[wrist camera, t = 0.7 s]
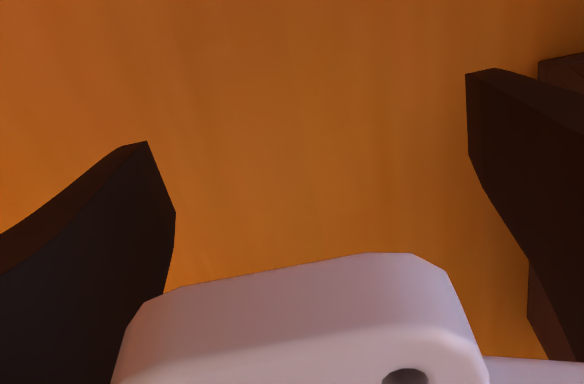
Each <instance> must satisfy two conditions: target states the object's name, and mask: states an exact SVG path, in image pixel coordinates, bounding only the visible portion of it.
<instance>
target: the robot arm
mask: <svg viewBox="0 0 584 384" xmlns="http://www.w3.org/2000/svg"><path fill="white" fill-rule="evenodd" d="M465 85H466V108H467V132H468V155H469V157H470V160H471V162H472V165H473V167H474V169H475V172H476V174H477V176H478V179H479V181H480V183H481V185H482V188H483V189H484V191H485V193H486V194H487V196H488V198H489V199H490V201H491V202H492V204H493V206H494V207H495V209H496V210H497V212H498V213H499V215H500V217H501V218H502V220H503V221H504V223H505V224H506V226H507V227H508V229H509V230H510V232H511V234H512V235H513V237H514V238H515V240H516V241H517V243H518V244H519V246H520V248H521V249H522V251H523V252H524V254H525V255H526V257H527V259H528V260H529V262H530V264H531V266H532V267H533V269H534V271H535V273H536V274H537V276H538V278H539V280H540V283H541V285H542V287H543V289H544V291H545V293H546V295H547V297H548V299H549V301H550V303H551V306H552V308H553V310H554V312H555V314H556V316H557V319H558V321H559V323H560V325H561V327H562V330H563V332H564V334H565V336H566V339H567V341H568V343H569V345H570V348H571V350H572V352H573V354H574V357H575V359H576V362H568V361H554V360H540V359H526V358H512V357H498V356H483V355H481V352H480V350H479V347H478V345H477V342H476V340H475V337H474V335H473V332H472V330H471V327H470V325H469V322H468V320H467V317H466V315H465V313H464V310H463V308H462V305H461V303H460V300H459V298H458V296H457V294H456V292H455V289H454V287H453V285H452V283H451V281H450V279H449V277H448V275H447V273H446V271H445V270H443V269H441V268H439V267H437V266H435V265H433V264H431V263H429V262H428V261H426V260H424V259H422V258H420V257H418V256H416V255H414V254H412V253H376V252H366V253H360V254H355V255H349V256H344V257H339V258H333V259H328V260H322V261H317V262H312V263H306V264H301V265H295V266H290V267H285V268H279V269H274V270H268V271H263V272H258V273H252V274H247V275H241V276H236V277H231V278H225V279H220V280H215V281H209V282H204V283H198V284H193V285H188V286H182V287H179V288H177V289H174V290H172V291H170V292H167V293H165V294H163V291H164V287H165V283H166V279H167V275H168V270H169V266H170V262H171V257H172V253H173V248H174V237H175V221H176V212H175V209H174V207H173V204H172V202H171V199H170V197H169V194H168V192H167V189H166V187H165V184H164V182H163V179H162V177H161V175H160V172H159V170H158V167H157V165H156V162H155V160H154V157H153V155H152V152H151V150H150V147H149V145H148V142H147V141H143V142H138V143H134V144H129V145H124V146H121V147H119V148H117V149H115V150H114V151H112V152H111V153H109V154H108V155H107V156H105V157H104V158H103V159H101V160H100V161H99V162H97V163H96V164H95V165H94V166H93V167H91V168H90V169H89V170H88V171H86V172H85V173H84V174H83V175H81V176H80V177H79V178H78V179H76V180H75V181H74V182H73V183H72V184H70V185H69V186H68V187H67V188H65V189H64V190H63V191H61V192H60V193H59V194H57V195H56V196H55V197H53V198H52V199H51V200H50V201H48V202H47V203H46V204H44V205H43V206H42V207H40V208H39V209H38V210H36V211H35V212H34V213H32V214H31V215H29V216H28V217H26V218H25V219H23V220H22V221H20V222H19V223H17V224H16V225H14V226H13V227H11V228H10V229H8V230H6V231H5V232H3V233H2V234H0V384H584V94H583V93H579V92H576V91H572V90H569V89H565V88H562V87H559V86H555V85H552V84H549V83H546V82H543V81H539V80H536V79H533V78H530V77H527V76H524V75H521V74H517V73H514V72H511V71H507V70H503V69H498V68H491V69H486V70H481V71H477V72H472V73H467V74H465Z"/></svg>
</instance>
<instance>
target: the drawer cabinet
mask: <svg viewBox="0 0 584 384" xmlns="http://www.w3.org/2000/svg"><path fill="white" fill-rule="evenodd" d="M538 80H539V81H543V82H546V83H549V84H552V85H555V86H559V87H562V88H565V89H569V90H572V91H576V92H579V93H583V94H584V53H581V54H576V55H571V56H566V57H561V58H556V59H551V60H546V61H541V62H539V63H538ZM527 318H528V320H529V322H530V324H531V326H532V327H533V330H534V332H535V334H536V336H537V338H538V340H539V341H540V343H541V345H542V347H543V349H544V351H545V353H546V355H547V357H548V359H549V360H554V361H568V362H576V359H575V357H574V354H573V352H572V350H571V348H570V345H569V343H568V341H567V339H566V336H565V334H564V332H563V330H562V327H561V325H560V323H559V321H558V319H557V316H556V314H555V312H554V310H553V308H552V306H551V303H550V301H549V299H548V297H547V295H546V293H545V291H544V289H543V287H542V285H541V283H540V280H539V278H538V276H537V274H536V273H535V271H534V269H533V267H532V266H531V264H530V262H529V282H528V304H527Z"/></svg>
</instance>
